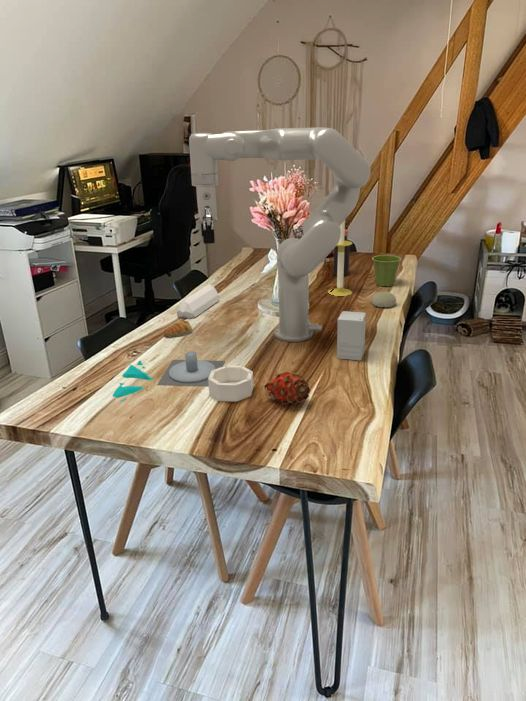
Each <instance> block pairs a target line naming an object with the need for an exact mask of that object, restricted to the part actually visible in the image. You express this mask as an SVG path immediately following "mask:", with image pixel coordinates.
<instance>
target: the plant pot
mask: <svg viewBox="0 0 526 701" xmlns="http://www.w3.org/2000/svg"><path fill="white" fill-rule="evenodd" d="M371 259H372V262H373V263H372V264H373V267H374V277H375V283H376V286H379V287H391V286H393V285H394V284H395V280H396V277H397V272H398V267H399V266H400V262H401V260H402V258H401V257H400V256H397V255H392V254H390V255H388V254H381V255H374V256H372V258H371Z"/></svg>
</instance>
